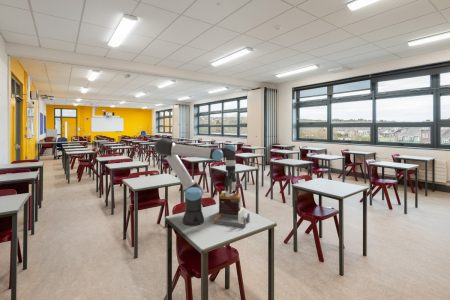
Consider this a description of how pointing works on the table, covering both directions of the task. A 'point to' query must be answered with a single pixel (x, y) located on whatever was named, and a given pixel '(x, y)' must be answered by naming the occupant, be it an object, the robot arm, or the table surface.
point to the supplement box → (229, 203)
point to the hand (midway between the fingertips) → (230, 192)
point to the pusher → (241, 216)
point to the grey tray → (231, 220)
